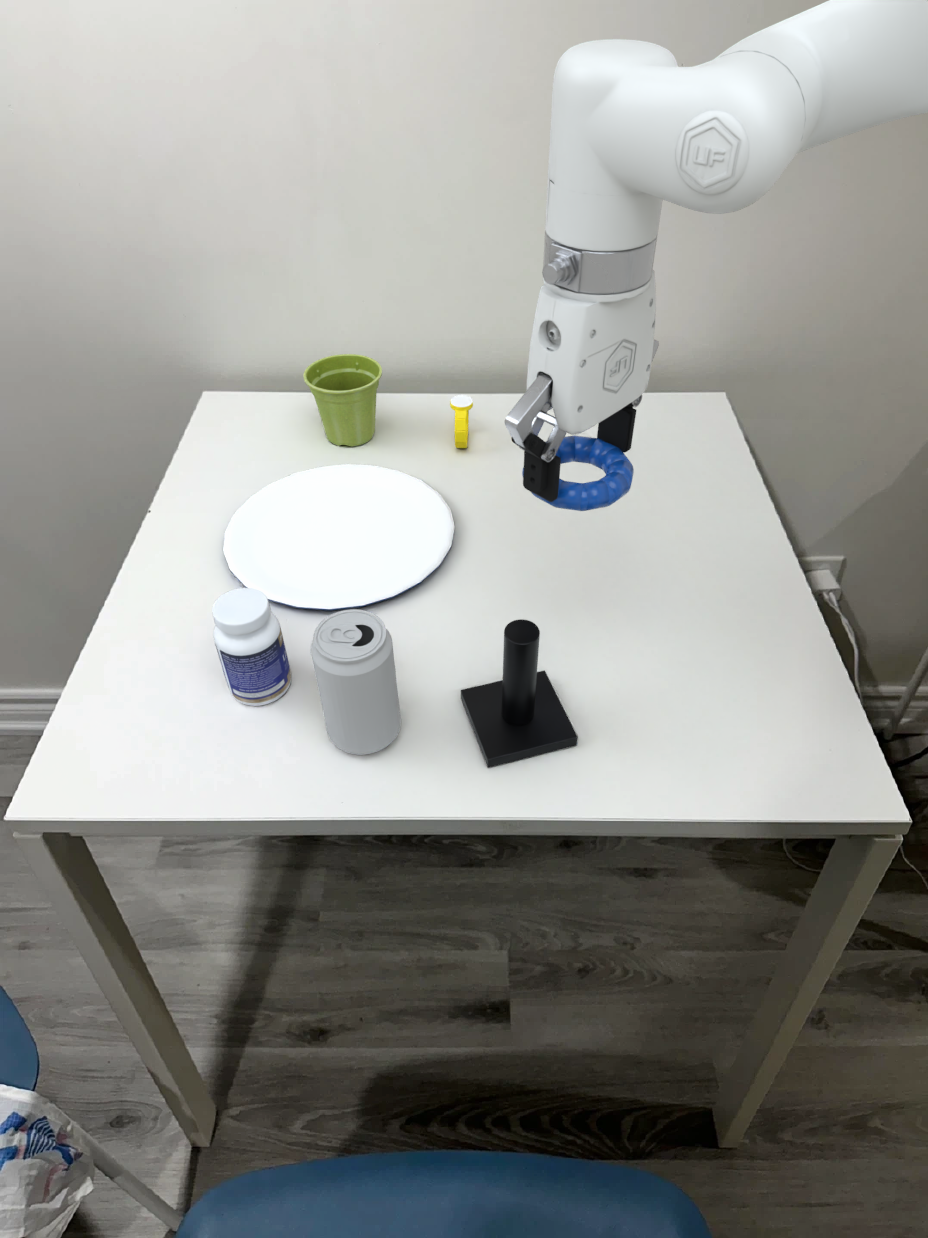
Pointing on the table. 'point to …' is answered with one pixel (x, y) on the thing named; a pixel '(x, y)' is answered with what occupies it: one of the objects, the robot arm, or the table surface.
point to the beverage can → (356, 681)
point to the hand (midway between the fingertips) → (577, 468)
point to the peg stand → (518, 704)
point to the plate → (339, 536)
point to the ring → (595, 491)
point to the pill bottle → (250, 647)
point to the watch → (461, 418)
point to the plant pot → (345, 396)
